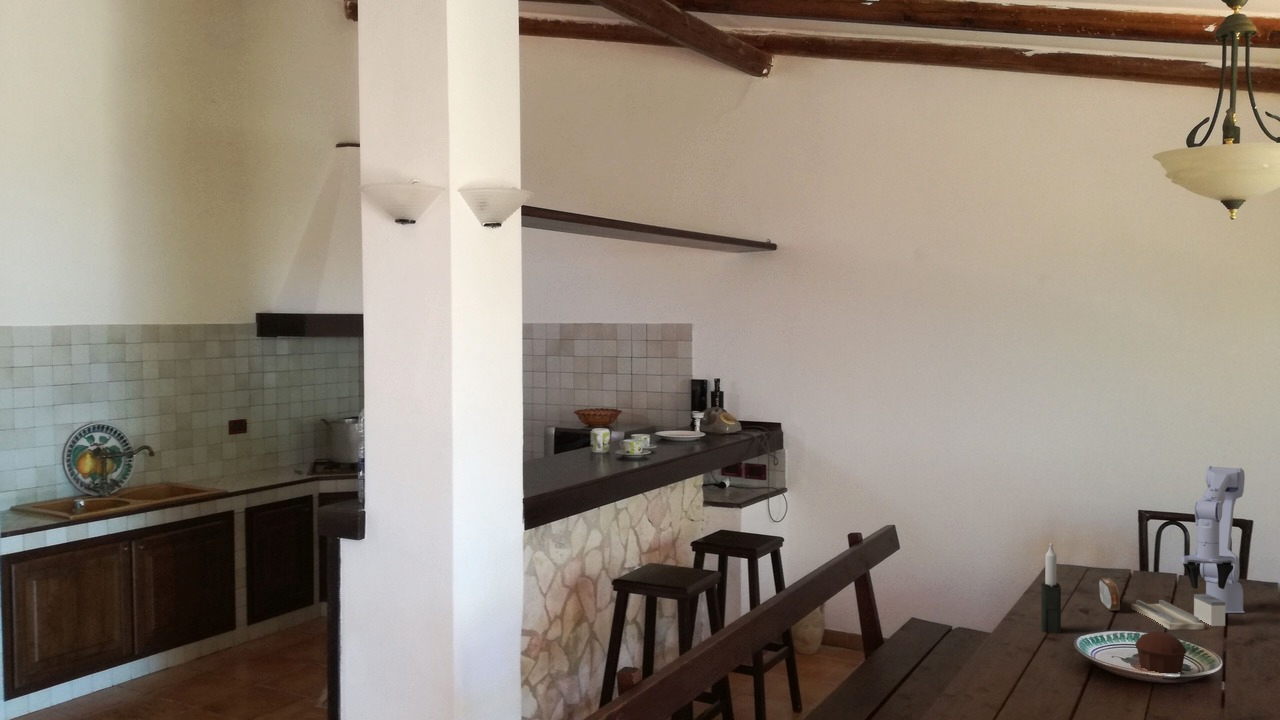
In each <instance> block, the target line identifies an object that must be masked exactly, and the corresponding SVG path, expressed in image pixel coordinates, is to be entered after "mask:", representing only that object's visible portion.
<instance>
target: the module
mask: <svg viewBox="0 0 1280 720" xmlns="http://www.w3.org/2000/svg"><path fill="white" fill-rule="evenodd" d="M1193 615H1194V616H1196V617H1198V618H1199V621H1200V620H1202V621H1203V622H1202V621H1201V622H1202V623H1204V622H1205V623H1204V624H1206V623H1207V624H1206V625H1208V624H1209V626H1210V625H1211V626H1210V627H1217V626H1218V627H1225V626H1226V613H1225V602H1224V601H1222V600H1220V599H1217V598H1215V597H1213V596H1210V595H1208V594H1206V593H1196V594H1193Z"/></svg>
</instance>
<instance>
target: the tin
mask: <svg viewBox="0 0 1280 720" xmlns="http://www.w3.org/2000/svg"><path fill="white" fill-rule="evenodd" d="M1098 586H1099V587H1098V588H1099V598H1100V602H1101V603H1102V605H1103V606H1104V607H1105V608H1106V609H1107V610H1108V611H1110V612H1120V609H1121V597H1120V591H1119V589H1118V586H1117V584H1116V583H1115V582H1114V581H1113V580H1112V579H1111V578H1110V577H1103V578H1102V577H1101V578H1100V579H1099V580H1098Z"/></svg>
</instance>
